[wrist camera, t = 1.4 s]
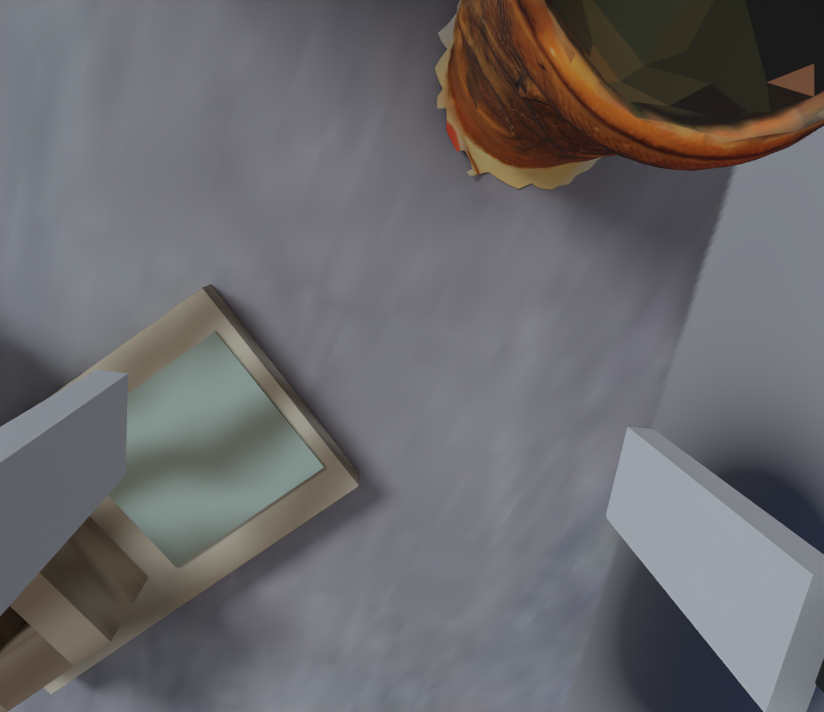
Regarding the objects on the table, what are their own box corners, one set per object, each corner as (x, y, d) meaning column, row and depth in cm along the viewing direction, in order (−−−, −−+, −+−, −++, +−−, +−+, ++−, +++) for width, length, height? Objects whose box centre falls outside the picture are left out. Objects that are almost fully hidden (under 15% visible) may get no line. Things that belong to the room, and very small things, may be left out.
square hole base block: (-108, 511, 37) (-230, 587, 30) (210, 284, 36) (169, 301, 28) (65, 672, 41) (-3, 776, 34) (359, 472, 40) (358, 534, 32)
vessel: (366, 26, 33) (397, -253, 14) (575, -109, 33) (904, -587, 14) (487, 240, 37) (645, 255, 17) (676, 120, 37) (1051, 0, 17)
